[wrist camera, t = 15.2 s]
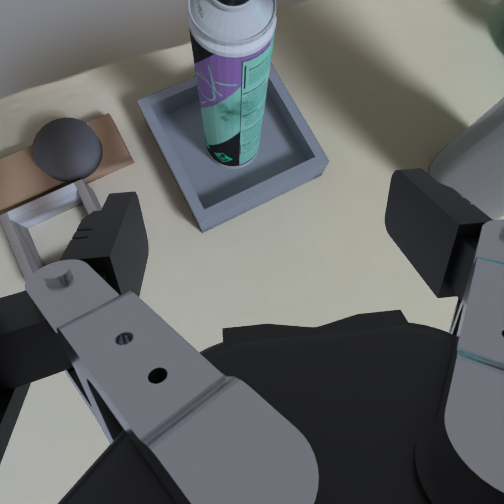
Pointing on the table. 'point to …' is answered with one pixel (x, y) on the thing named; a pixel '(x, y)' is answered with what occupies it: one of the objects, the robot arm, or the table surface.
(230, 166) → the spray can
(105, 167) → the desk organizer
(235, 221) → the table surface
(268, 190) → the tray
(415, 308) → the table surface
